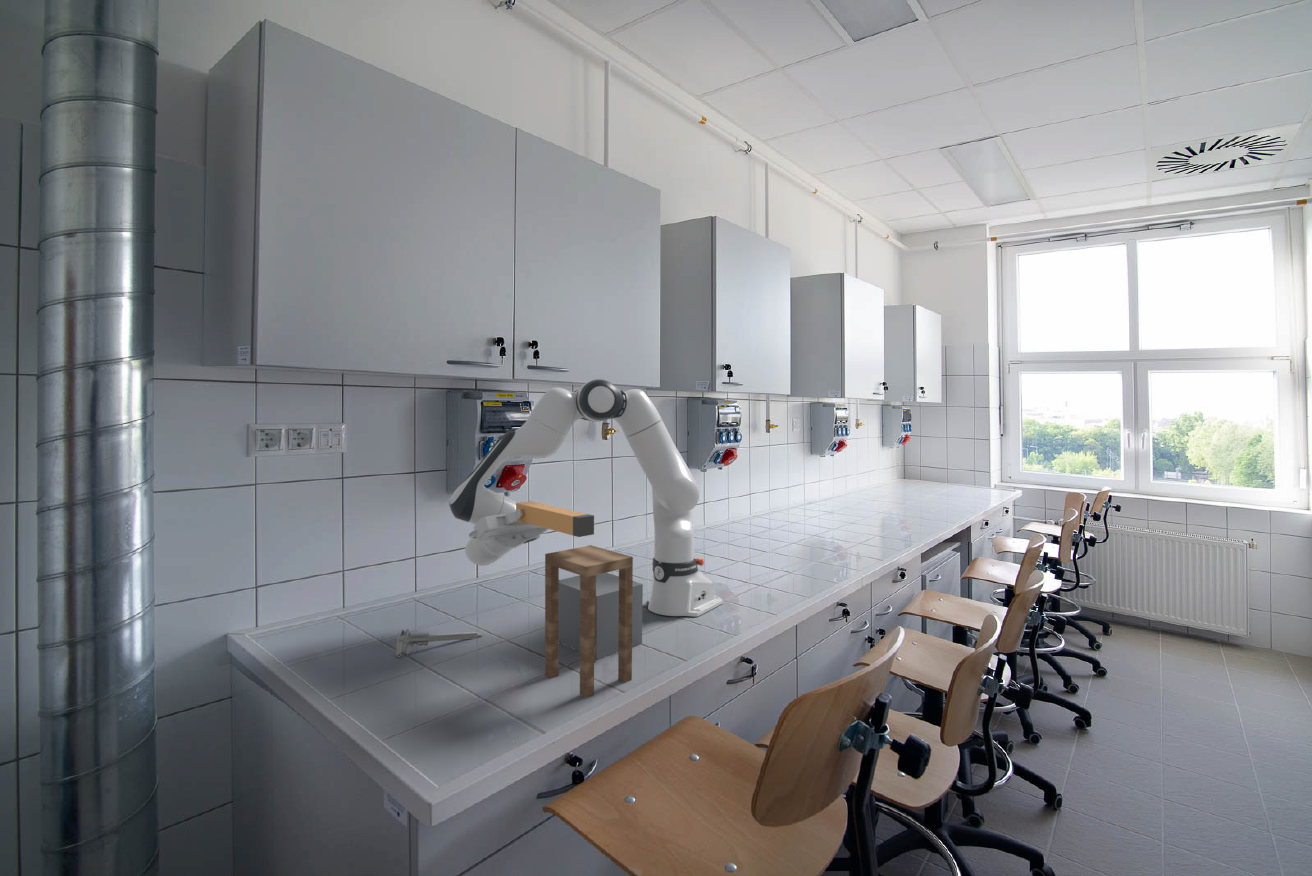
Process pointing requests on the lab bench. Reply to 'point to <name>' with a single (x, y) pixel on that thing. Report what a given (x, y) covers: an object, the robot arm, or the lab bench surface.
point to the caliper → (428, 639)
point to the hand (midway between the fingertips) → (532, 510)
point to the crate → (598, 613)
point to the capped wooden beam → (557, 519)
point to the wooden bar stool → (588, 609)
